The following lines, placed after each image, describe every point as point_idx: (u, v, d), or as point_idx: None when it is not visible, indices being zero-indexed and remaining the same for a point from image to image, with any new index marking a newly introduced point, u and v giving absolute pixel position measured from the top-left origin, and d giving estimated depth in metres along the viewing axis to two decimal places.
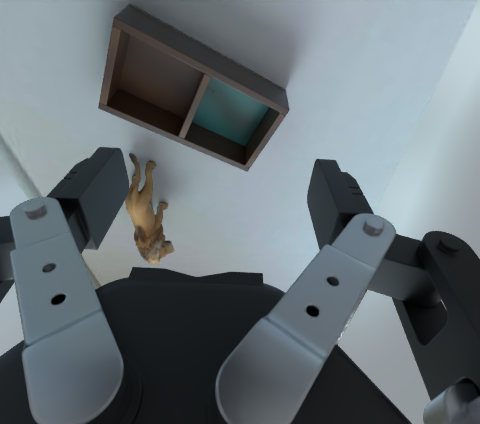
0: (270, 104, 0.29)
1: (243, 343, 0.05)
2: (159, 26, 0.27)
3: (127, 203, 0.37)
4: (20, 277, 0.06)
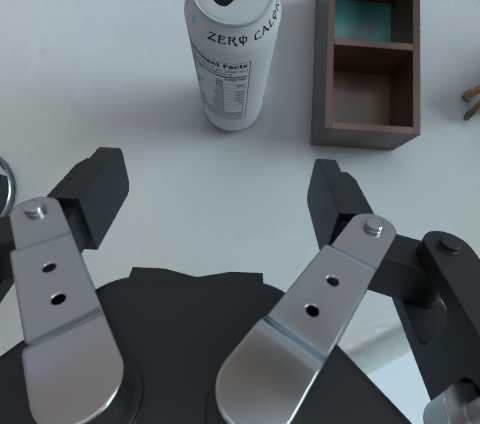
0: None
1: (243, 343, 0.05)
2: (315, 110, 0.30)
3: None
4: (20, 277, 0.06)
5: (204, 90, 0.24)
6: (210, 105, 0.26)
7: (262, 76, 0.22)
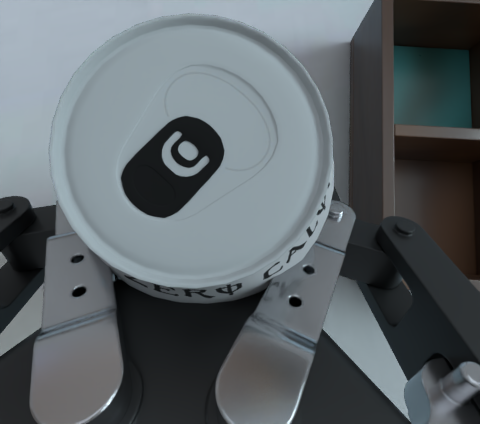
0: (388, 18, 0.17)
1: (243, 343, 0.05)
2: None
3: None
4: (50, 264, 0.06)
5: None
6: None
7: None
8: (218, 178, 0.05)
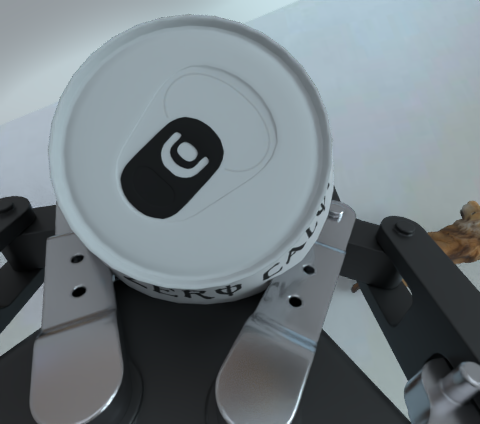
0: None
1: (243, 343, 0.05)
2: None
3: None
4: (51, 264, 0.06)
5: None
6: None
7: None
8: (218, 178, 0.05)
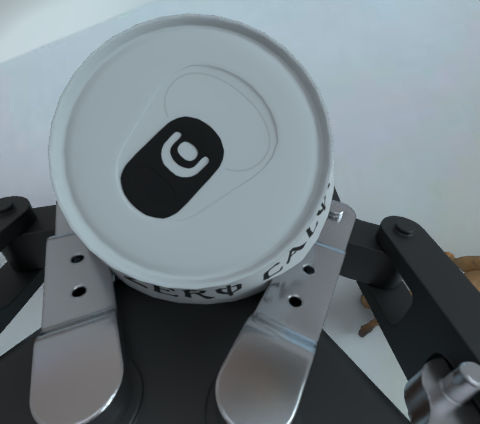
0: None
1: (243, 343, 0.05)
2: None
3: None
4: (51, 264, 0.06)
5: None
6: None
7: None
8: (218, 178, 0.05)
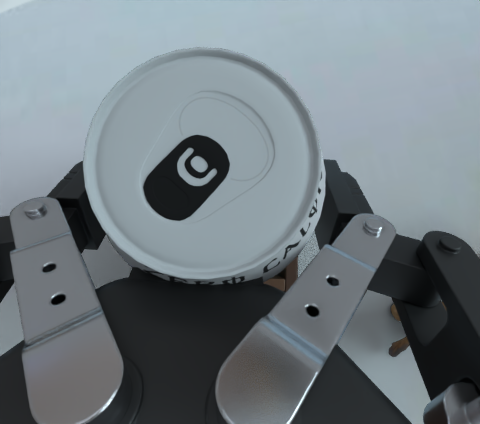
0: None
1: (243, 343, 0.05)
2: None
3: None
4: (20, 277, 0.06)
5: None
6: None
7: None
8: (225, 187, 0.06)
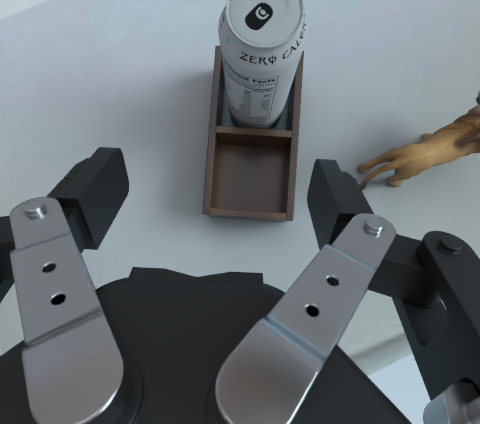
0: (218, 64, 0.29)
1: (243, 343, 0.05)
2: None
3: (413, 168, 0.27)
4: (20, 277, 0.06)
5: (232, 97, 0.26)
6: (236, 110, 0.28)
7: (287, 86, 0.24)
8: (271, 20, 0.18)
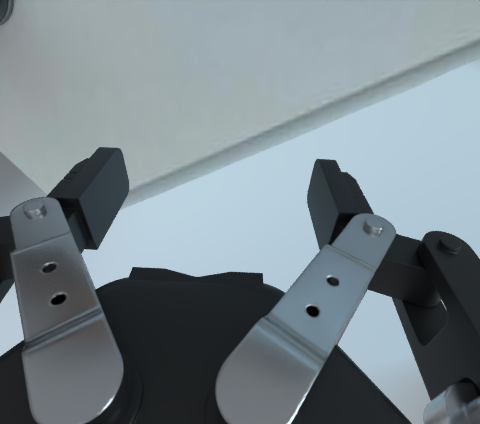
0: None
1: (243, 343, 0.05)
2: None
3: None
4: (20, 277, 0.06)
5: None
6: None
7: None
8: None
